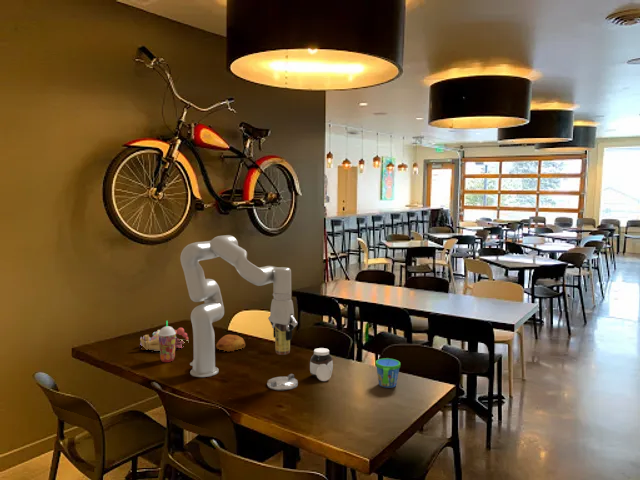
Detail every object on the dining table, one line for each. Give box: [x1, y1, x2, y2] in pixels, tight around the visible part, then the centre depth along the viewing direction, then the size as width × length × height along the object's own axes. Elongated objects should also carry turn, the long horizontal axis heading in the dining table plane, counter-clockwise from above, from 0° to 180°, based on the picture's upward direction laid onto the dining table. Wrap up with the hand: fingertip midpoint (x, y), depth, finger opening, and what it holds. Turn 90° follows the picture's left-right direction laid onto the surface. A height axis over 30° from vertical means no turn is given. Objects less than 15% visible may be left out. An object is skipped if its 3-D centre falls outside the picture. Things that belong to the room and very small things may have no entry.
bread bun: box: [215, 333, 246, 352], centre depth 256 cm, size 15×16×8 cm
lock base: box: [266, 373, 299, 391], centre depth 204 cm, size 13×13×3 cm
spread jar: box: [309, 347, 334, 382], centre depth 213 cm, size 12×11×12 cm
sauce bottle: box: [274, 323, 291, 356], centre depth 202 cm, size 6×6×20 cm
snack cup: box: [375, 357, 401, 389], centre depth 203 cm, size 16×10×10 cm
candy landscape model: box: [139, 327, 189, 351], centre depth 259 cm, size 25×24×9 cm
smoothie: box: [158, 320, 177, 363], centre depth 234 cm, size 8×8×20 cm
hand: (282, 338), depth 202 cm, fingers closed on sauce bottle, 6 cm apart
